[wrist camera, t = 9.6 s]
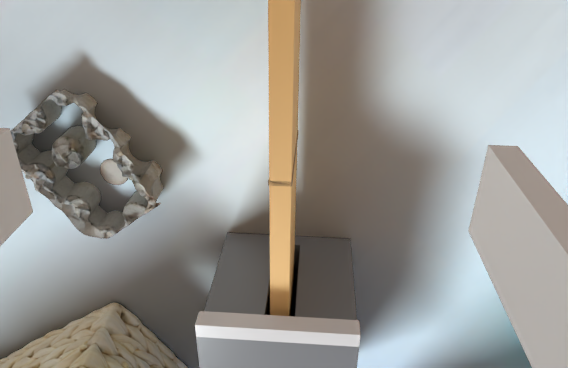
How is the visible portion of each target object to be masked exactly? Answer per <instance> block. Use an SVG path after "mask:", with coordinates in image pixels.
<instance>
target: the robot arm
mask: <svg viewBox="0 0 568 368" xmlns="http://www.w3.org/2000/svg"><path fill="white" fill-rule="evenodd" d="M32 213H33V210H32V206H31V203H30V199H29V195H28V192H27V188H26V185H25V181H24V178H23V174H22V171H21V167H20V164H19V160H18V157H17V153H16V150H15V146H14V143H13V139H12V135H11V132H10V128H0V246H1V245H2V244H3V243H4V242H5V241H6V240H7V239H8V238H9V236H10V235H11V234H12V233H13V232H14V231H15V230H16V229H17V228H18V227H19V226H20V225H21V224H22V223H23V222H24V221H25V220H26V219H27V218H28V217H29V216H30V215H31V214H32ZM468 231H469V234H470V236H471V238H472V240H473V242H474V244H475V246H476V249H477V251H478V253H479V255H480V257H481V259H482V261H483V264H484V266H485V268H486V270H487V272H488V274H489V276H490V279H491V281H492V283H493V285H494V287H495V289H496V291H497V294H498V296H499V298H500V300H501V302H502V304H503V307H504V309H505V311H506V313H507V315H508V317H509V319H510V322H511V324H512V326H513V328H514V330H515V332H516V334H517V337H518V339H519V341H520V343H521V345H522V347H523V349H524V352H525V354H526V356H527V358H528V360H529V362H530V364H531V367H532V368H568V205H567V204H566V202H565V201H564V200H563V199H562V198H561V196H560V195H559V194H558V193H557V192H556V191H555V189H554V188H553V187H552V186H551V185H550V183H549V182H548V181H547V180H546V179H545V178H544V176H543V175H542V174H541V173H540V172H539V171H538V169H537V168H536V167H535V166H534V165H533V163H532V162H531V161H530V160H529V159H528V158H527V156H526V155H525V154H524V153H523V152H522V150H521V149H520V148H519V147H518V146H499V145H488V149H487V153H486V157H485V162H484V166H483V170H482V174H481V179H480V183H479V187H478V192H477V196H476V200H475V204H474V209H473V213H472V217H471V222H470V226H469V230H468Z"/></svg>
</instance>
